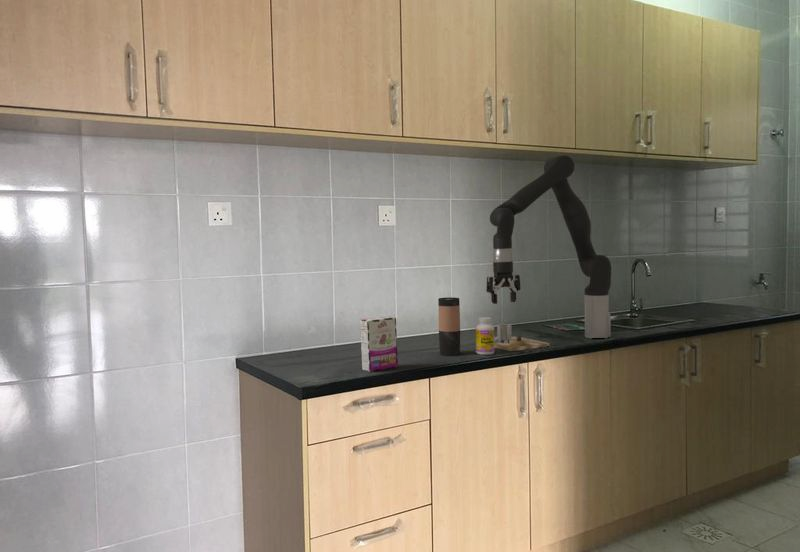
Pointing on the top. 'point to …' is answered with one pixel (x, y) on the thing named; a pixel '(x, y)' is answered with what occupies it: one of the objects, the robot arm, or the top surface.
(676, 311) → the top surface
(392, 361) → the candy bar box
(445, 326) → the travel mug
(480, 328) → the supplement bottle
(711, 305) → the top surface
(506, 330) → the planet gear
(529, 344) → the carrier board
